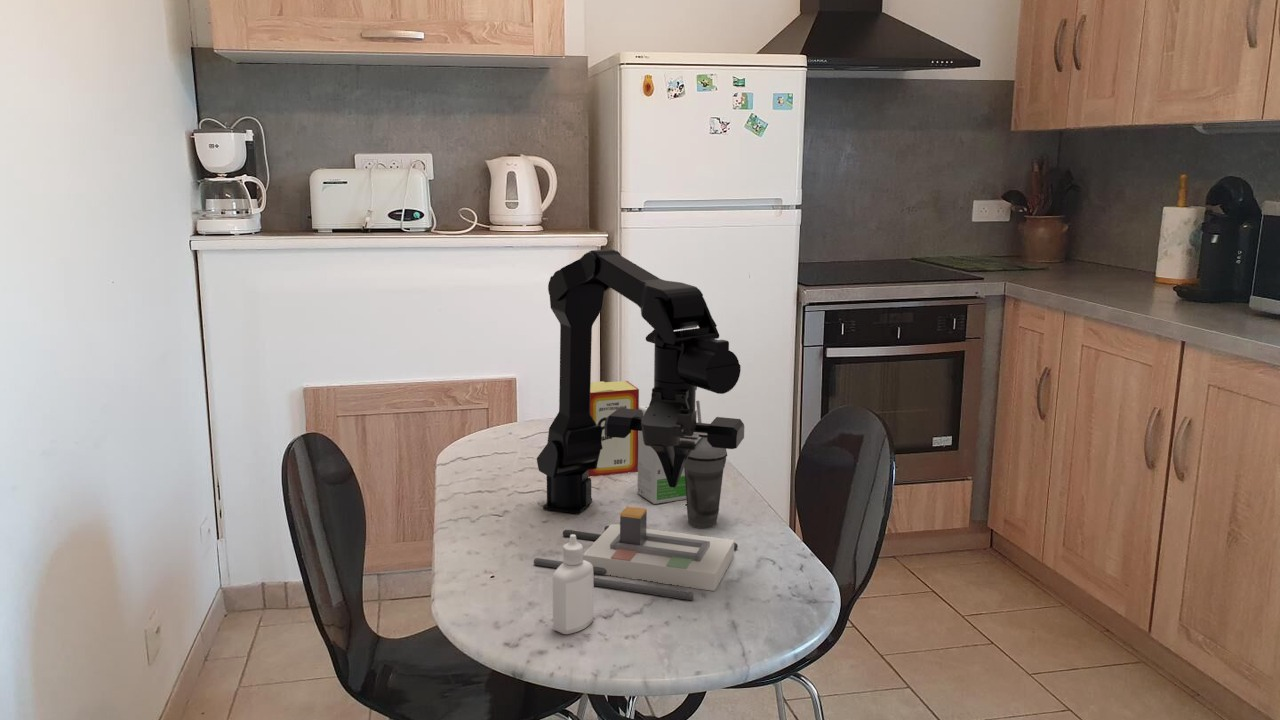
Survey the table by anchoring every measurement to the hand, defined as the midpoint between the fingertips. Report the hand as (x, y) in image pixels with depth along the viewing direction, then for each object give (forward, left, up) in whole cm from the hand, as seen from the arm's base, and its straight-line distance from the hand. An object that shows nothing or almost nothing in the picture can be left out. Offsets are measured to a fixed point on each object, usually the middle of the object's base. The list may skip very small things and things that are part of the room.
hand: (673, 486), depth 137 cm
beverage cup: (0, +17, -12) cm, 21 cm away
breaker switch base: (-2, 0, -12) cm, 12 cm away
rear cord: (-6, +7, -12) cm, 15 cm away
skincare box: (-9, +27, -12) cm, 31 cm away
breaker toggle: (-6, 0, -9) cm, 11 cm away
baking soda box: (-23, +37, -12) cm, 45 cm away
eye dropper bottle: (-7, -21, -12) cm, 25 cm away
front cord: (-7, -8, -12) cm, 16 cm away
